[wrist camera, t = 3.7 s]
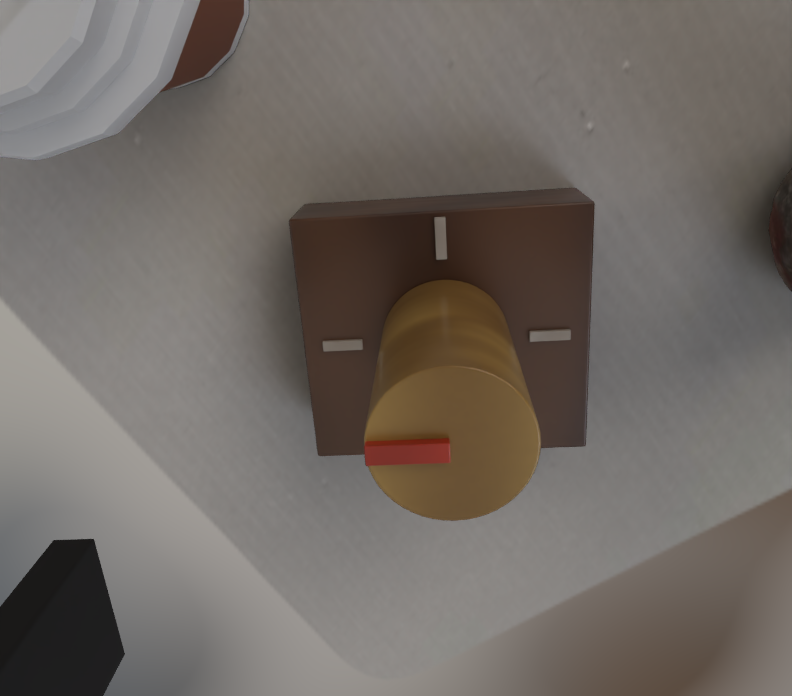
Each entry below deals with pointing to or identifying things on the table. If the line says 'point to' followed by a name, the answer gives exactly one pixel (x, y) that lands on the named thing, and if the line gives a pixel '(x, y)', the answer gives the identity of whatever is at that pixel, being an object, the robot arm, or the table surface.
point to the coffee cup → (101, 64)
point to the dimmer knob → (450, 406)
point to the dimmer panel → (446, 260)
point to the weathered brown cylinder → (782, 230)
